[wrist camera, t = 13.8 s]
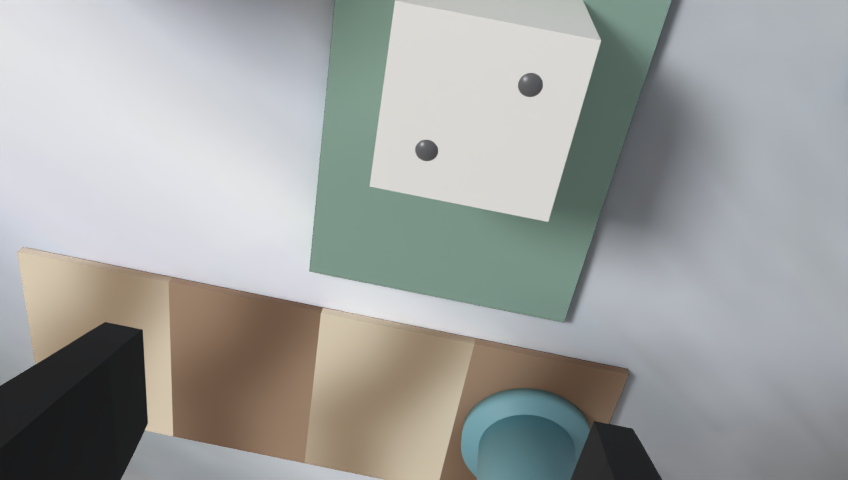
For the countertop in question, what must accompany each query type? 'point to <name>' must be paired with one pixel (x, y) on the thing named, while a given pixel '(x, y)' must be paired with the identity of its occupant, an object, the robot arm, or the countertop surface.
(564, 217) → the felt pad
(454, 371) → the track
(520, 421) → the pawn
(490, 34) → the die
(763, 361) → the countertop surface
